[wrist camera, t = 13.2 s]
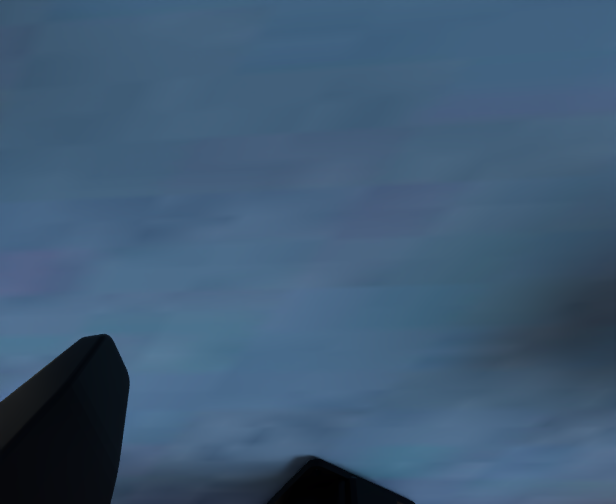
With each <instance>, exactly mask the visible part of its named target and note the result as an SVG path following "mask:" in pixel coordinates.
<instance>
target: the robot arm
mask: <svg viewBox="0 0 616 504" xmlns="http://www.w3.org/2000/svg"><path fill="white" fill-rule="evenodd" d="M129 386H130V381H129V375H128V372H127V369H126V367H125V365H124V363H123V360H122V358H121V356H120V354H119V352H118V350H117V347H116V345H115V343H114V341H113V339H112V338H111V337H110V336H109V335H107V334H100V335H94V336H87V337H83V338H81V339H79V340H78V341H77V342H76V343H74V344H73V345H72V346H71V347H69V348H68V349H67V350H66V351H64V352H63V353H62V354H60V355H59V356H58V357H57V358H55V359H54V360H53V361H52V362H50V363H49V364H48V365H47V366H45V367H44V368H43V369H42V370H40V371H39V372H38V373H37V374H35V375H34V376H33V377H32V378H30V379H29V380H28V381H26V382H25V383H24V384H23V385H21V386H20V387H19V388H18V389H16V390H15V391H14V392H13V393H11V394H10V395H9V396H8V397H6V398H5V399H4V400H3V401H1V402H0V504H110V503H111V499H112V495H113V491H114V487H115V482H116V478H117V473H118V468H119V461H120V455H121V447H122V440H123V432H124V425H125V417H126V410H127V402H128V394H129ZM316 469H318V470H316ZM267 504H415V503H414V502H413V501H410V500H408V499H406V498H404V497H402V496H400V495H397V494H395V493H393V492H391V491H389V490H386V489H384V488H382V487H380V486H378V485H376V484H373V483H371V482H369V481H367V480H365V479H362V478H360V477H358V476H356V475H354V474H351V473H349V472H347V471H345V470H343V469H341V468H338V467H336V466H334V465H332V464H330V463H327V462H325V461H323V460H320V459H313V460H310V461H309V462H307V463H306V464H305V465H304V467H303V468H302V469H301V470H300V471H299V472H298V473H297V474H296V475H295V476H294V477H293V478H292V479H291V480H290V481H289V482H288V483H287V484H286V485H285V486H284V487H283V488H282V489H281V490H280V491H279V492H278V493H277V494H276V495H275V496H274V497H273V498H272V499H271V500H270V501H269V502H268V503H267Z"/></svg>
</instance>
